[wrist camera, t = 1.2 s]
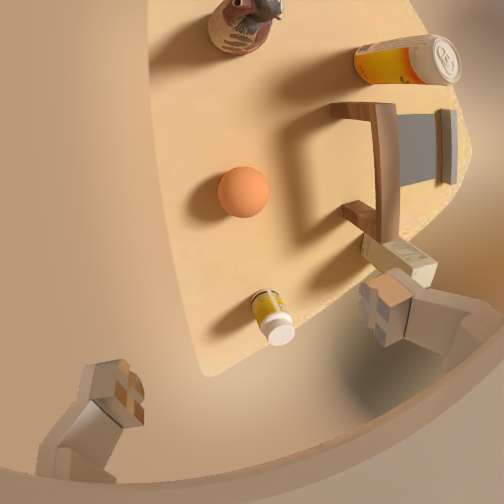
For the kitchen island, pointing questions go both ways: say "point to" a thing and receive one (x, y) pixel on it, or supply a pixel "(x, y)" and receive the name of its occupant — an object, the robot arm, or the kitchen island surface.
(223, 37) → the figurine
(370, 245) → the skincare box
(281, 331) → the supplement bottle
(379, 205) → the bridge
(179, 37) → the kitchen island surface
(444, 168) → the stopper
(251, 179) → the ball
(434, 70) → the beer can
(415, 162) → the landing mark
